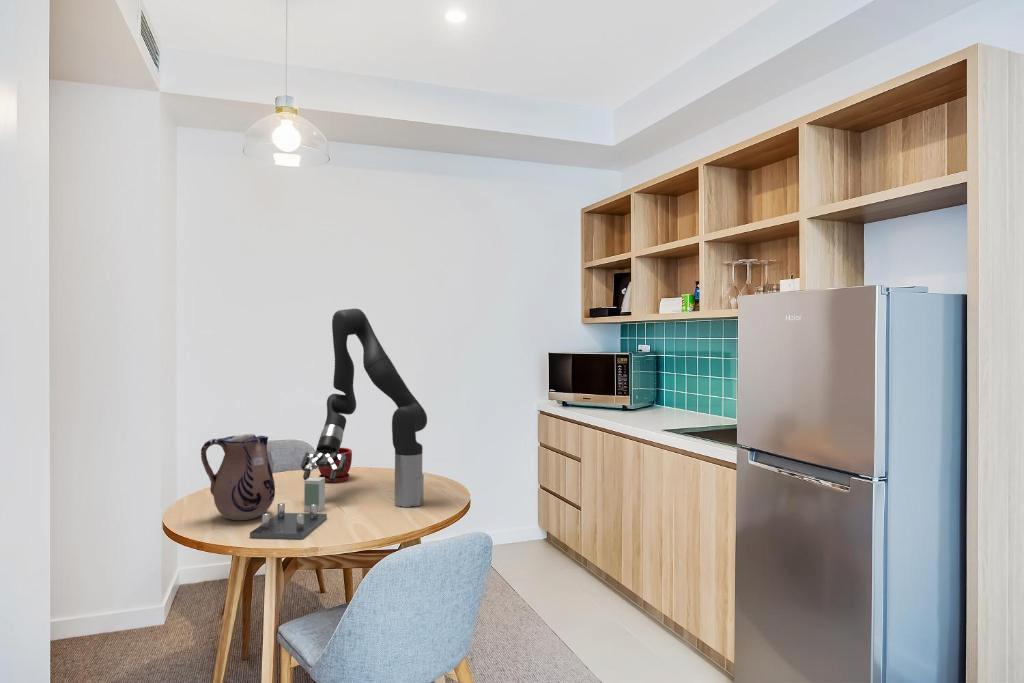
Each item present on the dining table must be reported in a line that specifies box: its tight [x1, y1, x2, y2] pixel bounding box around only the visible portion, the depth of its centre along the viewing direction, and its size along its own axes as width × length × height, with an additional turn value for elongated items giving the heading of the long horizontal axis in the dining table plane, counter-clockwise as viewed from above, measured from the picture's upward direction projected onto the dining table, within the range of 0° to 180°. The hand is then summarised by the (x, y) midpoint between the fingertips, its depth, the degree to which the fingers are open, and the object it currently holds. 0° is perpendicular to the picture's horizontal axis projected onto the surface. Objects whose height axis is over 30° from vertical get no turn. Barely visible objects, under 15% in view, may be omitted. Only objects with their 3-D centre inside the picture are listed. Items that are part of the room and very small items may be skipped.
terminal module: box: [303, 476, 326, 512], centre depth 206 cm, size 5×5×10 cm
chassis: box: [249, 502, 328, 540], centre depth 186 cm, size 15×20×6 cm
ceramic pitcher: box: [200, 433, 276, 521], centre depth 196 cm, size 18×21×25 cm
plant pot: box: [317, 447, 353, 483], centre depth 247 cm, size 13×13×12 cm
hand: (318, 480), depth 209 cm, fingers open, 8 cm apart
